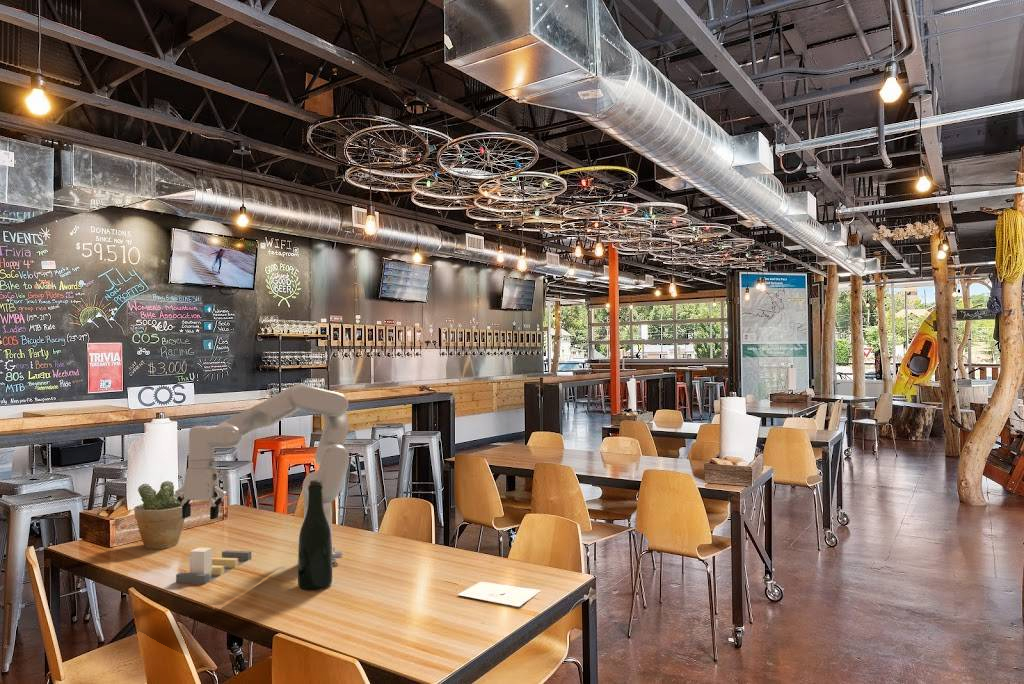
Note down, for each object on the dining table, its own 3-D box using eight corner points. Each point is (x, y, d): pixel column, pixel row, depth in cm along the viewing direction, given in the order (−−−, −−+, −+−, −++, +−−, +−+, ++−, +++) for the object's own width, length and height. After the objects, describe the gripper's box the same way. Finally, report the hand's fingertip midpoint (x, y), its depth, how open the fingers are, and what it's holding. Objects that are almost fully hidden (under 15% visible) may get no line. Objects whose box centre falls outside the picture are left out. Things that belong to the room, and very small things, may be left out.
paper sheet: (450, 595, 191) (450, 592, 191) (503, 572, 215) (503, 569, 215) (515, 611, 178) (515, 607, 178) (564, 584, 203) (564, 581, 203)
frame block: (211, 576, 205) (211, 548, 205) (203, 580, 201) (204, 551, 201) (197, 575, 206) (197, 547, 206) (189, 579, 202) (189, 551, 202)
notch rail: (251, 562, 223) (251, 551, 224) (205, 588, 198) (205, 575, 198) (225, 561, 225) (225, 550, 225) (176, 587, 199) (176, 574, 199)
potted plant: (152, 538, 256) (153, 476, 256) (197, 538, 255) (198, 476, 256) (123, 552, 237) (123, 485, 238) (171, 552, 237) (172, 485, 237)
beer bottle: (339, 583, 202) (339, 479, 203) (313, 593, 193) (314, 484, 194) (316, 578, 207) (316, 476, 208) (290, 587, 198) (290, 481, 199)
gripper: (232, 463, 207) (231, 516, 206) (184, 462, 210) (183, 514, 209) (219, 466, 200) (217, 521, 199) (169, 465, 202) (167, 519, 201)
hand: (200, 517), depth 204 cm, fingers open, 9 cm apart
